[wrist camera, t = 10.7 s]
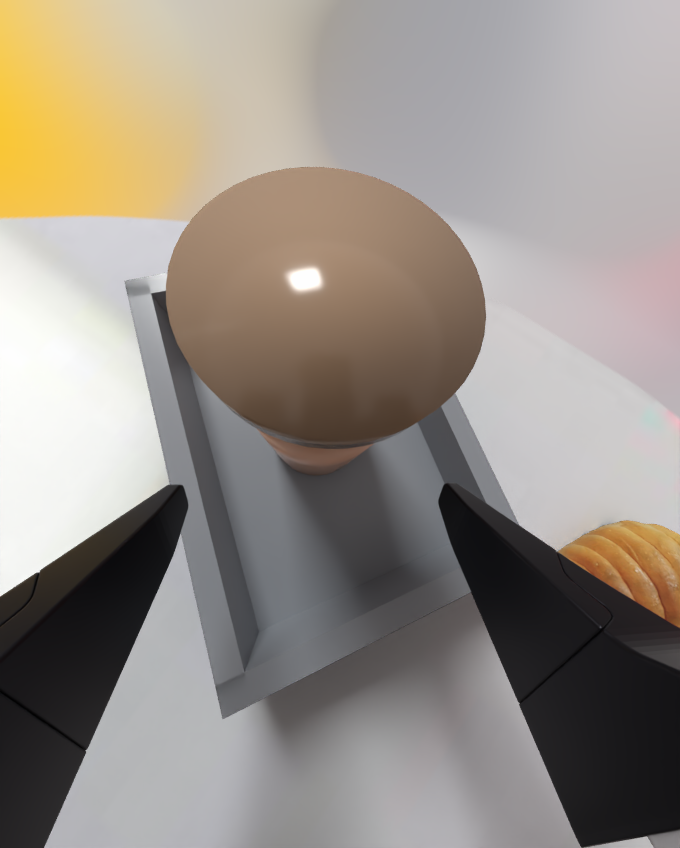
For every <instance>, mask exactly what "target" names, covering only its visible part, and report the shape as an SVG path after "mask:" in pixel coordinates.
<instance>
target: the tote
mask: <svg viewBox="0 0 680 848" xmlns="http://www.w3.org/2000/svg"><path fill="white" fill-rule="evenodd" d="M166 280H167V273H163V274H158V275H153V276H148V277H142V278H137V279H132V280H127V281H125V286H126V290H127V295H128V299H129V304H130V308H131V313H132V317H133V322H134V326H135V330H136V335H137V339H138V344H139V348H140V353H141V357H142V362H143V366H144V371H145V375H146V379H147V384H148V388H149V393H150V397H151V402H152V406H153V411H154V415H155V420H156V424H157V429H158V433H159V437H160V442H161V446H162V451H163V455H164V460H165V464H166V469H167V473H168V478H169V482H170V485H171V484H181V485H183V486H184V489H185V492H186V496H187V499H188V504H189V506H188V511H187V514H186V517H185V520H184V524H183V527H182V530H181V535H182V540H183V544H184V549H185V553H186V558H187V562H188V567H189V571H190V576H191V580H192V584H193V589H194V593H195V598H196V602H197V607H198V611H199V616H200V620H201V625H202V629H203V634H204V638H205V642H206V647H207V651H208V656H209V660H210V665H211V669H212V674H213V678H214V683H215V687H216V691H217V696H218V700H219V705H220V709H221V714H222V718H223V719H224V718H226V717H228V716H230V715H232V714H234V713H236V712H238V711H240V710H242V709H244V708H246V707H248V706H250V705H252V704H254V703H256V702H257V701H259V700H261V699H263V698H265V697H267V696H269V695H271V694H273V693H275V692H277V691H279V690H281V689H283V688H285V687H287V686H289V685H291V684H293V683H295V682H297V681H299V680H300V679H302V678H304V677H306V676H308V675H310V674H312V673H314V672H316V671H318V670H320V669H322V668H324V667H326V666H328V665H330V664H332V663H334V662H336V661H338V660H340V659H342V658H343V657H345V656H347V655H349V654H351V653H353V652H355V651H357V650H359V649H361V648H363V647H365V646H367V645H369V644H371V643H373V642H375V641H377V640H379V639H381V638H383V637H385V636H386V635H388V634H390V633H392V632H394V631H396V630H398V629H400V628H402V627H404V626H406V625H408V624H410V623H412V622H414V621H416V620H418V619H420V618H422V617H424V616H426V615H428V614H429V613H431V612H433V611H435V610H437V609H439V608H441V607H443V606H445V605H447V604H449V603H451V602H453V601H455V600H457V599H459V598H461V597H463V596H465V595H467V594H469V593H471V591H470V588H469V586H468V584H467V581H466V579H465V577H464V574H463V572H462V570H461V567H460V565H459V563H458V560H457V558H456V556H455V553H454V551H453V548H452V546H451V543H450V540H449V537H448V534H447V531H446V528H445V524H444V521H443V518H442V515H441V511H440V508H439V504H438V499H439V496H440V493H441V490H442V487H443V485H444V484H445V483H457V484H459V485H460V486H462V487H463V488H465V489H466V490H468V491H469V492H471V493H472V494H474V495H475V496H476V497H478V498H479V499H481V500H482V501H484V502H485V503H487V504H488V505H490V506H491V507H493V508H494V509H496V510H497V511H499V512H500V513H502V514H503V515H504V516H506V517H507V518H509V519H510V520H512V521H513V522H515V523H516V524H518V522H517V520H516V518H515V516H514V514H513V511H512V509H511V507H510V505H509V503H508V501H507V499H506V497H505V495H504V493H503V491H502V489H501V487H500V485H499V483H498V481H497V479H496V476H495V474H494V472H493V470H492V468H491V466H490V464H489V462H488V460H487V458H486V456H485V454H484V452H483V450H482V448H481V446H480V443H479V441H478V439H477V437H476V435H475V433H474V431H473V429H472V427H471V425H470V423H469V421H468V419H467V417H466V415H465V413H464V410H463V408H462V406H461V404H460V402H459V400H458V398H457V396H456V394H455V393H454V395H453V396H452V397H451V398H450V399H449V400H447V401H446V402H445V403H444V404H443V405H442V406H440V407H439V408H438V409H437V410H436V411H434V412H433V413H431V414H429V415H428V416H426V417H425V418H423V419H422V420H420V421H419V422H417V423H416V424H414V425H412V426H411V427H409V428H408V429H406V430H405V431H403V432H401V433H399V434H397V435H395V436H393V437H391V438H388V439H386V440H384V441H380V442H377V443H374V444H373V445H372V446H370V447H369V448H368V449H366V450H365V451H364V452H362V453H361V454H360V455H358V456H357V457H356V458H355V459H353V460H352V461H351V462H349V463H348V464H347V465H345V466H344V467H343V468H341V469H339V470H338V471H335V472H333V473H330V474H326V475H317V476H314V475H307V474H303V473H300V472H298V471H296V470H294V469H292V468H291V467H289V466H288V465H287V464H286V463H285V462H284V461H283V460H282V459H281V458H280V457H279V456H278V454H277V453H276V452H275V451H274V449H273V448H272V447H271V446H270V445H269V443H268V442H267V441H266V440H265V438H264V437H263V436H262V435H261V434H260V432H259V431H258V430H257V429H256V428H255V427H253V426H251V425H249V424H248V423H247V422H245V421H244V420H243V419H241V418H240V417H238V416H237V415H236V414H234V413H233V412H232V411H231V410H230V409H229V408H228V407H227V406H226V405H225V404H224V403H223V402H222V401H221V400H220V399H219V398H218V397H217V396H216V395H215V394H214V393H213V392H212V391H211V390H210V389H209V388H208V387H207V385H206V384H205V383H204V382H203V381H202V380H201V379H200V378H199V376H198V375H197V374H196V372H195V371H194V370H193V369H192V367H191V366H190V365H189V363H188V362H187V360H186V358H185V357H184V355H183V353H182V351H181V349H180V348H179V346H178V344H177V342H176V339H175V336H174V333H173V331H172V328H171V325H170V321H169V316H168V311H167V305H166ZM518 525H519V524H518Z"/></svg>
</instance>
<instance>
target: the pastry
mask: <svg viewBox="0 0 680 848" xmlns="http://www.w3.org/2000/svg"><path fill="white" fill-rule="evenodd" d="M558 552H559V553H561V554H562V555H564V556H565V557H567V558H568V559H569V560H571V561H572V562H574V563H575V564H577V565H578V566H580V567H582V568H583V569H585V570H586V571H588V572H589V573H591V574H592V575H594V576H595V577H597V578H599V579H600V580H602V581H603V582H605V583H607V584H608V585H610V586H611V587H613V588H615V589H616V590H618V591H620V592H621V593H623V594H624V595H626V596H628V597H629V598H631V599H633V600H634V601H636V602H638V603H639V604H641V605H643V606H644V607H646V608H647V609H649V610H651V611H652V612H654V613H656V614H657V615H659V616H661V617H662V618H664V619H665V620H667V621H669V622H670V623H672V624H674V625H675V626H677V627H679V628H680V535H679V534H677V533H675V532H674V531H671V530H669V529H667V528H665V527H663V526H660V525H657V524H642V523H639V522H635V521H628V520H627V521H620V522H617V523H613V524H608V525H604V526H601V527H599V528H598V529H596V530H593V531H590V532H589V533H587V534H585V535H583V536H581V537H580V538H578V539H577V540H575V541H573V542H572V543H570V544H568V545H566V546H565V547H563V548H562V549H561V550H559V551H558Z"/></svg>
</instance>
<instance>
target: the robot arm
mask: <svg viewBox="0 0 680 848" xmlns="http://www.w3.org/2000/svg"><path fill="white" fill-rule="evenodd" d="M438 504H439V508H440V511H441V515H442V518H443V521H444V524H445V528H446V531H447V534H448V537H449V540H450V543H451V546H452V548H453V551H454V553H455V556H456V558H457V560H458V563H459V565H460V567H461V570H462V572H463V574H464V577H465V579H466V581H467V584H468V586H469V588H470V591H471V593H472V595H473V598H474V600H475V602H476V605H477V607H478V609H479V612H480V614H481V616H482V619H483V621H484V623H485V626H486V628H487V630H488V633H489V635H490V637H491V640H492V642H493V644H494V647H495V649H496V651H497V654H498V656H499V658H500V661H501V663H502V665H503V668H504V670H505V672H506V675H507V677H508V679H509V682H510V684H511V686H512V689H513V691H514V693H515V696H516V698H517V700H518V702H519V703H520V704H519V706H520V708H521V710H522V713H523V715H524V717H525V720H526V722H527V724H528V727H529V729H530V731H531V734H532V736H533V738H534V741H535V743H536V745H537V748H538V750H539V752H540V755H541V757H542V759H543V762H544V764H545V766H546V769H547V771H548V773H549V776H550V778H551V780H552V783H553V785H554V787H555V790H556V792H557V794H558V797H559V799H560V801H561V804H562V806H563V808H564V811H565V813H566V815H567V818H568V820H569V822H570V825H571V827H572V829H573V832H574V834H575V836H576V838H577V840H578V842H579V844H580V846H581V847H582V848H584V847H590V846H595V845H601V844H606V843H612V842H618V841H623V840H629V839H634V838H640V837H645V836H647V837H648V839H649V840H650V842H651V844H652V845H653V847H654V848H680V628H679V627H677V626H675V625H674V624H672V623H670V622H669V621H667V620H665V619H664V618H662V617H661V616H659V615H657V614H656V613H654V612H652V611H651V610H649V609H647V608H646V607H644V606H643V605H641V604H639V603H638V602H636V601H634V600H633V599H631V598H629V597H628V596H626V595H624V594H623V593H621V592H620V591H618V590H616V589H615V588H613V587H611V586H610V585H608V584H607V583H605V582H603V581H602V580H600V579H599V578H597V577H595V576H594V575H592V574H591V573H589V572H588V571H586V570H585V569H583V568H582V567H580V566H578V565H577V564H575V563H574V562H572V561H571V560H569V559H568V558H567V557H565V556H564V555H562V554H561V553H559V552H556V550H555V549H553V548H552V547H550V546H549V545H547V544H546V543H544V542H543V541H541V540H540V539H538V538H537V537H535V536H534V535H533V534H531V533H530V532H528V531H527V530H525V529H524V528H522V527H521V526H519V525H518V524H516V523H515V522H513V521H512V520H510V519H509V518H507V517H506V516H504V515H503V514H502V513H500V512H499V511H497V510H496V509H494V508H493V507H491V506H490V505H488V504H487V503H485V502H484V501H482V500H481V499H479V498H478V497H476V496H475V495H474V494H472V493H471V492H469V491H468V490H466V489H465V488H463V487H462V486H460V485H459V484H457V483H445V484H444V485H443V487H442V490H441V493H440V496H439V499H438ZM188 506H189V504H188V499H187V496H186V492H185V489H184V486H183V485H181V484H171V485H167V486H166V487H164V488H163V489H161V490H160V491H158V492H157V493H155V494H154V495H152V496H151V497H149V498H148V499H146V500H145V501H143V502H142V503H140V504H139V505H137V506H136V507H134V508H133V509H131V510H130V511H128V512H127V513H125V514H124V515H122V516H121V517H119V518H118V519H116V520H115V521H113V522H112V523H110V524H109V525H107V526H106V527H104V528H103V529H101V530H100V531H98V532H97V533H95V534H94V535H92V536H91V537H89V538H88V539H86V540H85V541H83V542H82V543H80V544H79V545H77V546H76V547H74V548H73V549H71V550H70V551H68V552H67V553H65V554H64V555H62V556H61V557H59V558H58V559H56V560H55V561H53V562H52V563H50V564H49V565H47V566H46V567H44V568H43V569H41V570H40V572H39V573H35V574H34V575H32V576H31V577H29V578H28V579H26V580H25V581H23V582H22V583H20V584H19V585H17V586H16V587H14V588H13V589H11V590H9V591H8V592H6V593H5V594H3V595H2V596H0V848H44V846H45V844H46V842H47V840H48V837H49V835H50V833H51V831H52V828H53V826H54V824H55V822H56V819H57V817H58V815H59V813H60V810H61V808H62V806H63V804H64V801H65V799H66V797H67V795H68V792H69V790H70V788H71V785H72V783H73V781H74V779H75V776H76V774H77V772H78V770H79V767H80V765H81V763H82V761H83V758H84V756H85V754H86V751H85V750H87V748H88V747H89V744H90V742H91V740H92V738H93V735H94V733H95V731H96V729H97V726H98V724H99V722H100V719H101V717H102V715H103V713H104V710H105V708H106V706H107V704H108V701H109V699H110V697H111V695H112V692H113V690H114V688H115V686H116V683H117V681H118V679H119V677H120V674H121V672H122V670H123V668H124V665H125V663H126V661H127V659H128V656H129V654H130V652H131V650H132V647H133V645H134V643H135V641H136V638H137V636H138V634H139V632H140V629H141V627H142V625H143V623H144V620H145V618H146V616H147V613H148V611H149V609H150V607H151V604H152V602H153V600H154V598H155V595H156V593H157V591H158V589H159V586H160V584H161V582H162V580H163V577H164V575H165V573H166V571H167V568H168V566H169V564H170V562H171V559H172V557H173V554H174V551H175V549H176V546H177V542H178V539H179V536H180V533H181V530H182V527H183V524H184V520H185V517H186V514H187V511H188Z"/></svg>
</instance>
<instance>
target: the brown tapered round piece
mask: <svg viewBox="0 0 680 848" xmlns="http://www.w3.org/2000/svg"><path fill="white" fill-rule="evenodd" d="M166 305H167V311H168V316H169V321H170V325H171V328H172V331H173V333H174V336H175V339H176V342H177V344H178V346H179V348H180V349H181V351H182V353H183V355H184V357H185V358H186V360H187V362H188V363H189V365H190V366H191V367H192V369H193V370H194V371H195V372H196V374H197V375H198V376H199V378H200V379H201V380H202V381H203V382H204V383H205V384H206V385H207V387H208V388H209V389H210V390H211V391H212V392H213V393H214V394H215V395H216V396H217V397H218V398H219V399H220V400H221V401H222V402H223V403H224V404H225V405H226V406H227V407H228V408H229V409H230V410H231V411H232V412H233V413H234V414H236V415H237V416H238V417H240V418H241V419H243V420H244V421H245V422H247V423H248V424H249V425H251V426H253V427H255V428H256V429H257V430H258V431H259V432H260V434H261V435H262V436H263V437H264V438H265V440H266V441H267V442H268V443H269V445H270V446H271V447H272V448H273V449H274V451H275V452H276V453H277V454H278V456H279V457H280V458H281V459H282V460H283V461H284V462H285V463H286V464H287V465H288V466H289V467H291V468H292V469H294V470H296V471H298V472H300V473H303V474H307V475H314V476H317V475H326V474H330V473H333V472H335V471H338V470H339V469H341V468H343V467H344V466H345V465H347V464H348V463H349V462H351V461H352V460H353V459H355V458H356V457H357V456H358V455H360V454H361V453H362V452H364V451H365V450H366V449H368V448H369V447H370V446H372V445H373V444H374V443H377V442H380V441H384V440H386V439H388V438H391V437H393V436H395V435H397V434H399V433H401V432H403V431H405V430H406V429H408V428H409V427H411V426H412V425H414V424H416V423H417V422H419V421H420V420H422V419H423V418H425V417H426V416H428V415H429V414H431V413H433V412H434V411H436V410H437V409H438V408H439V407H440V406H442V405H443V404H444V403H445V402H446V401H447V400H449V399H450V398H451V397H452V396H453V395H454V393H455V392H456V391H457V390H458V389H459V388H460V386H461V385H462V384H463V383H464V381H465V380H466V378H467V377H468V375H469V373H470V372H471V370H472V369H473V367H474V364H475V362H476V360H477V357H478V355H479V352H480V350H481V346H482V342H483V337H484V332H485V321H486V310H485V298H484V293H483V288H482V284H481V281H480V278H479V275H478V272H477V269H476V267H475V264H474V262H473V260H472V258H471V257H470V254H469V252H468V251H467V249H466V248H465V246H464V245H463V243H462V242H461V240H460V239H459V237H458V236H457V235H456V234H455V232H454V231H453V230H452V229H451V228H450V226H449V225H448V224H447V223H446V222H445V221H444V220H443V219H442V218H441V217H440V216H439V215H438V214H437V213H435V212H434V211H433V210H432V209H430V208H429V207H428V206H427V205H425V204H424V203H423V202H421V201H420V200H418V199H417V198H415V197H414V196H412V195H411V194H409V193H407V192H405V191H404V190H402V189H400V188H398V187H396V186H394V185H392V184H389V183H387V182H384V181H382V180H380V179H377V178H374V177H371V176H368V175H364V174H361V173H357V172H352V171H347V170H342V169H334V168H324V167H300V168H291V169H290V168H289V169H283V170H278V171H272V172H268V173H265V174H261V175H258V176H255V177H252V178H249V179H247V180H245V181H243V182H240V183H238V184H236V185H234V186H232V187H230V188H229V189H227V190H225V191H224V192H222V193H220V194H219V195H218V196H217V197H215V198H214V199H213V200H211V201H210V202H209V203H207V204H206V205H205V206H204V207H203V208H202V209H201V210H200V211H199V212H198V213H197V214H196V215H195V216H194V217H193V218H192V220H191V221H190V223H189V224H188V225H187V227H186V228H185V229H184V231H183V232H182V234H181V236H180V238H179V240H178V242H177V244H176V246H175V248H174V251H173V254H172V257H171V260H170V263H169V266H168V273H167V280H166Z"/></svg>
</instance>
